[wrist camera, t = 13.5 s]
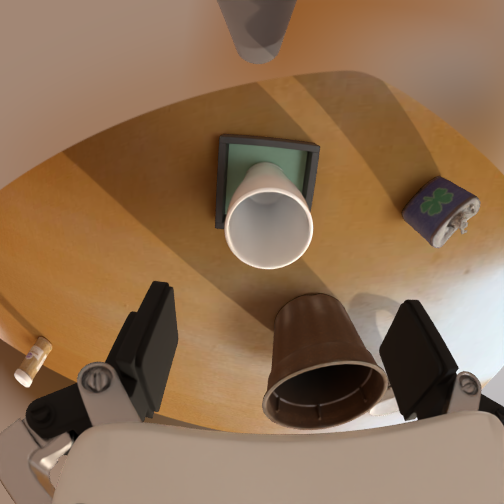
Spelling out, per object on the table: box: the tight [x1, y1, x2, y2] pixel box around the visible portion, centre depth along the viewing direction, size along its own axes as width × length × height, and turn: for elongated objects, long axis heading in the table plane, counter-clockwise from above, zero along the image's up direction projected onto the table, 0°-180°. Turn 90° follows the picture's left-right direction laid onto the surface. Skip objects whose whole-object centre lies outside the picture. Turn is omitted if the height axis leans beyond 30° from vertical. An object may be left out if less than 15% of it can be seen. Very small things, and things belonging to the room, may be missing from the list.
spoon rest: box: [369, 387, 399, 416], centre depth 51 cm, size 24×12×7 cm, turn 170°
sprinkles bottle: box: [14, 337, 52, 387], centre depth 47 cm, size 5×5×13 cm
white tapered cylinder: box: [224, 162, 313, 269], centre depth 28 cm, size 7×7×15 cm
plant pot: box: [262, 294, 388, 430], centre depth 38 cm, size 16×16×16 cm
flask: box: [402, 176, 480, 248], centre depth 30 cm, size 9×3×11 cm, turn 135°
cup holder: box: [215, 134, 320, 229], centre depth 33 cm, size 11×11×4 cm
